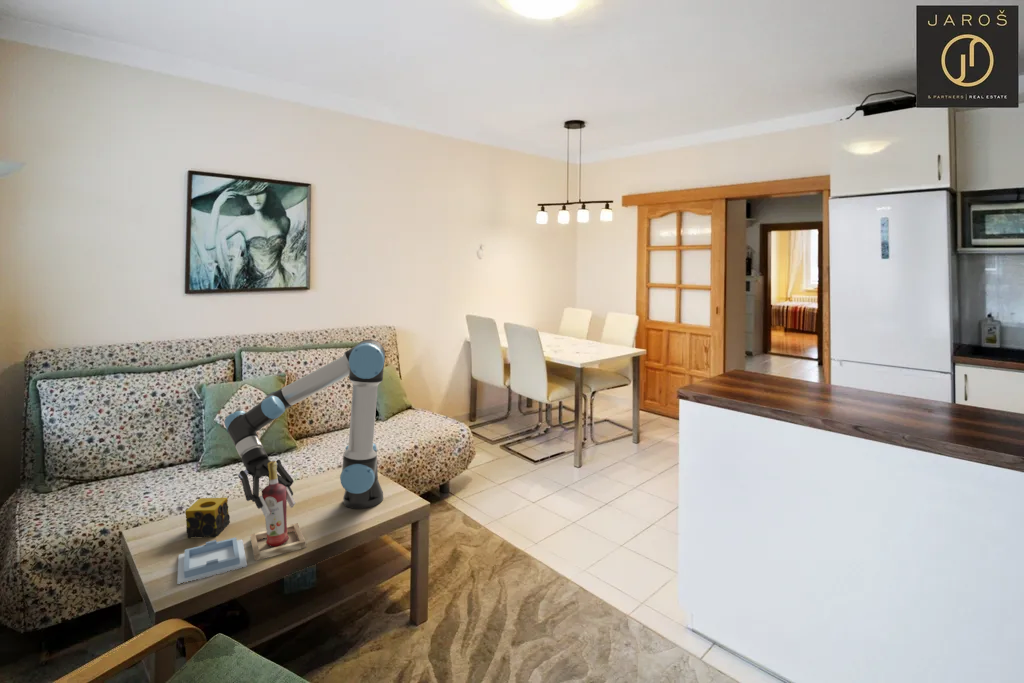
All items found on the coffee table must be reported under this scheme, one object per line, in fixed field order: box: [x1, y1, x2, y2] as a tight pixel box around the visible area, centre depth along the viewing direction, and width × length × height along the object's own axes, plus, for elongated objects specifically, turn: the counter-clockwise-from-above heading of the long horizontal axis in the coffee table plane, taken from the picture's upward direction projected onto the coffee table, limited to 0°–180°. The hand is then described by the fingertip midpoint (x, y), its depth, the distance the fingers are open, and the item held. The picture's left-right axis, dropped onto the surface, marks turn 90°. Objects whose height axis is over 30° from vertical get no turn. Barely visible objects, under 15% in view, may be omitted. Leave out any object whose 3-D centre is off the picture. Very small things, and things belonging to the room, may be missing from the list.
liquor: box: [261, 460, 290, 548], centre depth 169 cm, size 7×7×28 cm
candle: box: [184, 497, 231, 539], centre depth 180 cm, size 10×10×10 cm
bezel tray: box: [176, 537, 248, 585], centre depth 161 cm, size 18×18×3 cm
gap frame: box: [249, 522, 307, 561], centre depth 171 cm, size 15×15×2 cm
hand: (280, 510), depth 168 cm, fingers open, 8 cm apart
